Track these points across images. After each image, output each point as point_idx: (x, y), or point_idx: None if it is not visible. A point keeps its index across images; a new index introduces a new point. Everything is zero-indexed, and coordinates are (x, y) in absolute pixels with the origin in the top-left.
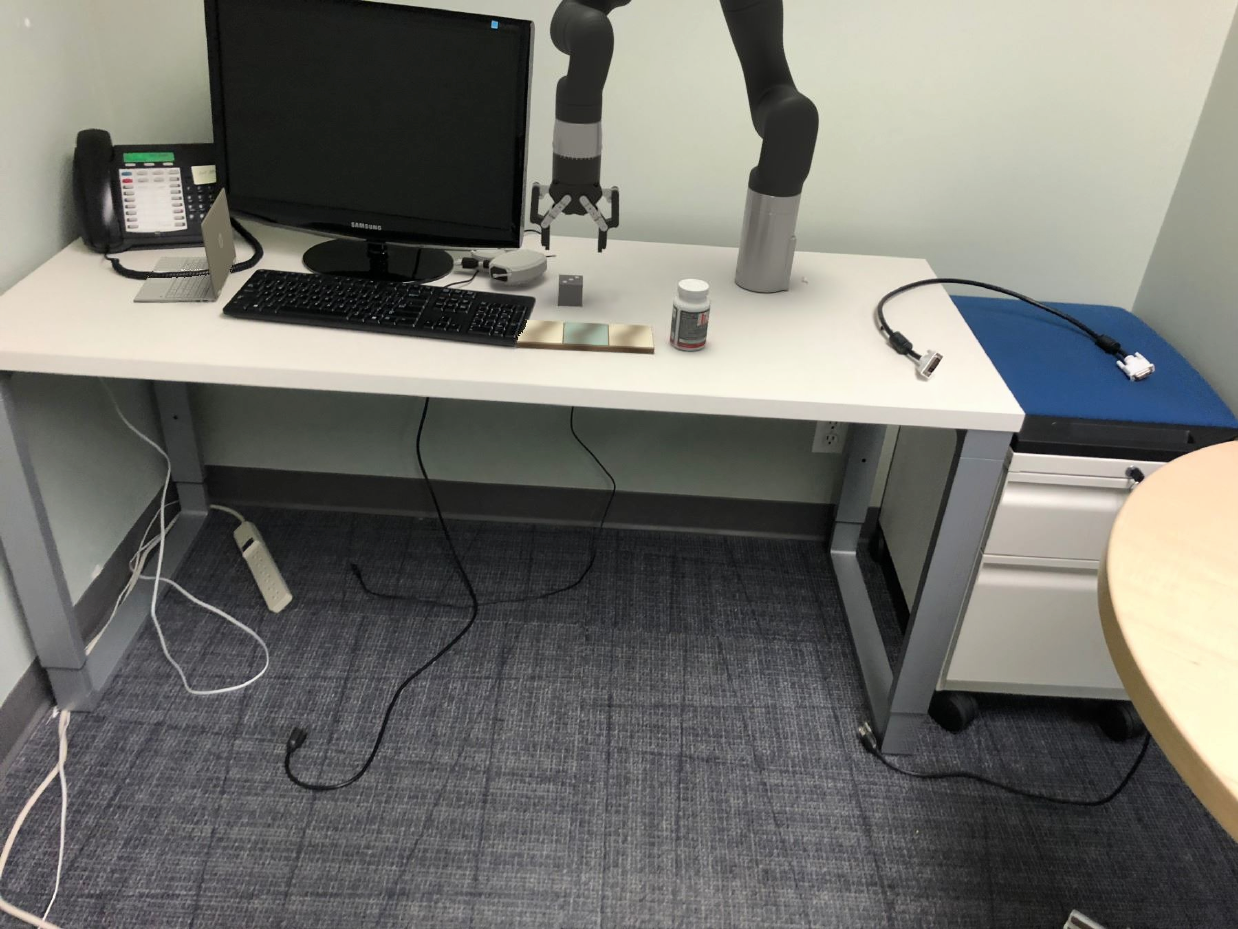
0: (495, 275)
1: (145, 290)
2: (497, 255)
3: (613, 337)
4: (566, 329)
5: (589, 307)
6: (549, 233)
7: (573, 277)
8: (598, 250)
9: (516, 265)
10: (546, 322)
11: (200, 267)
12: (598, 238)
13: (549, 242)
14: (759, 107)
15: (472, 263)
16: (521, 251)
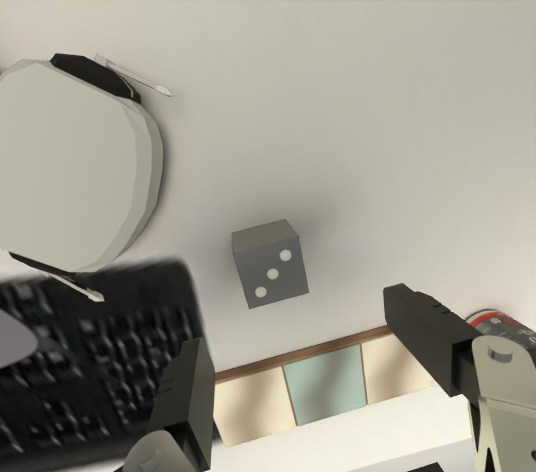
0: (49, 274)
1: None
2: None
3: (372, 383)
4: (293, 388)
5: (310, 264)
6: (210, 442)
7: (276, 258)
8: (393, 330)
9: (87, 250)
10: (252, 380)
11: None
12: (423, 366)
13: (212, 397)
14: None
15: None
16: (28, 98)
